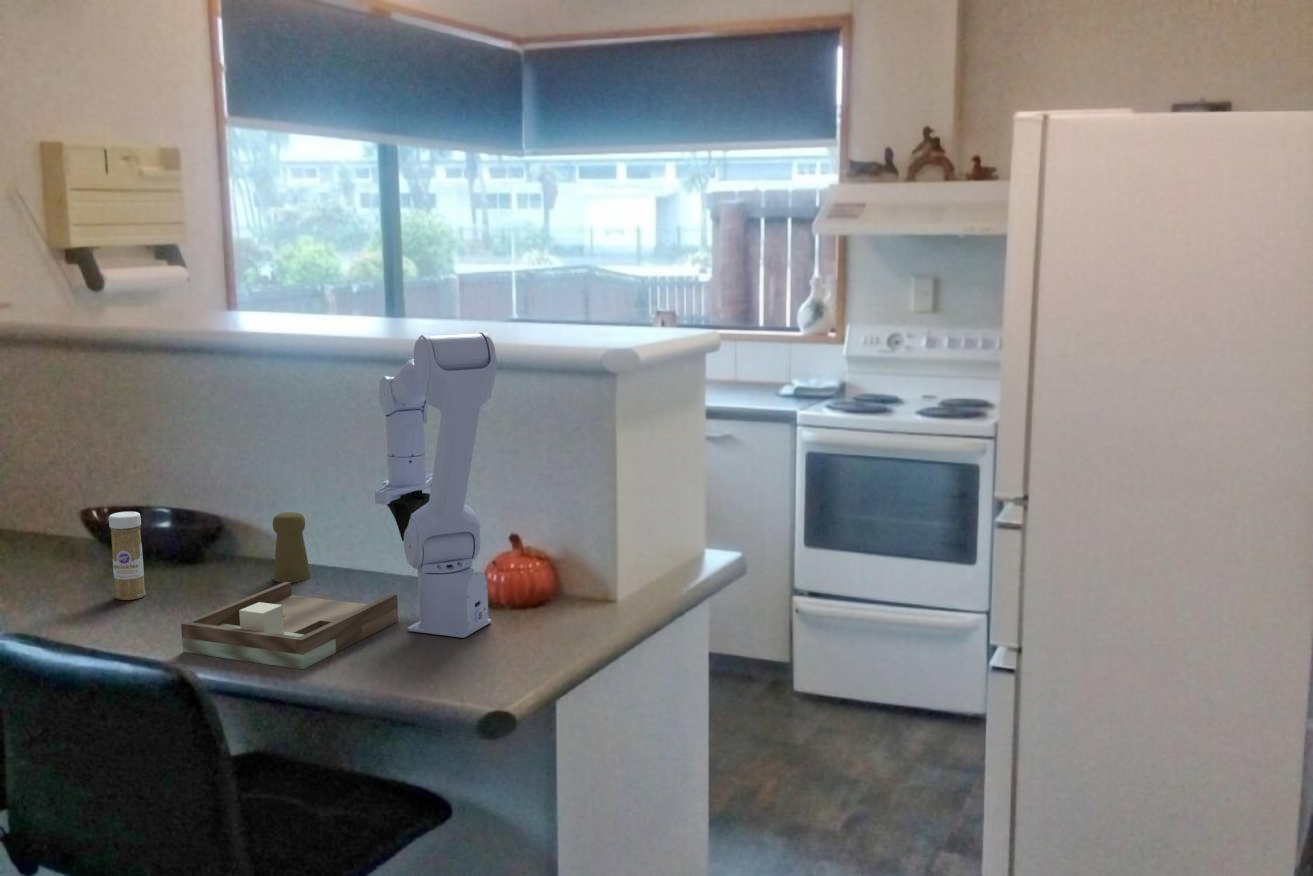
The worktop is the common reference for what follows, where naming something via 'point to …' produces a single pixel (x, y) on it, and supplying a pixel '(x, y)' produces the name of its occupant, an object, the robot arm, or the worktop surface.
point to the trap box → (288, 628)
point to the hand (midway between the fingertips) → (410, 540)
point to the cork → (290, 548)
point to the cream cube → (262, 618)
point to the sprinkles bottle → (127, 555)
